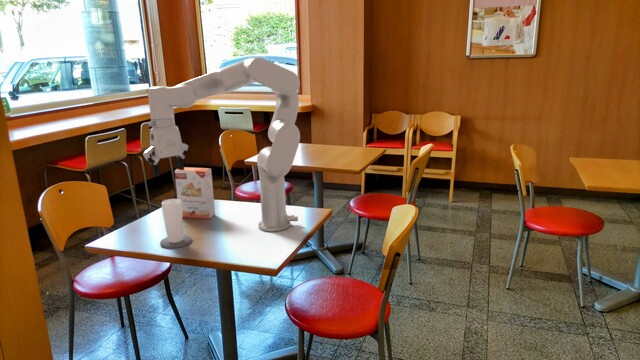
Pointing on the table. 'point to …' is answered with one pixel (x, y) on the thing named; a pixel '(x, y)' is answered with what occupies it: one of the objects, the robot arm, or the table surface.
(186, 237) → the coaster
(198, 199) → the cracker box
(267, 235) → the table surface
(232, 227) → the table surface
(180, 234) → the drinking glass
